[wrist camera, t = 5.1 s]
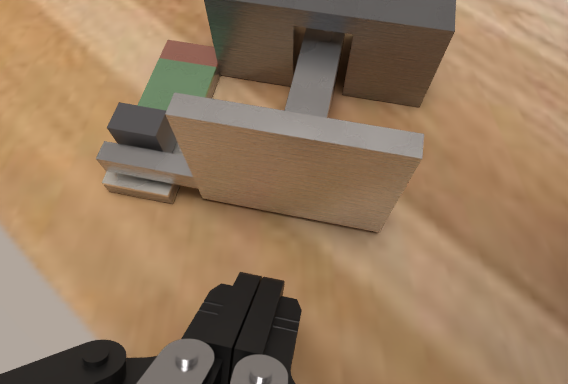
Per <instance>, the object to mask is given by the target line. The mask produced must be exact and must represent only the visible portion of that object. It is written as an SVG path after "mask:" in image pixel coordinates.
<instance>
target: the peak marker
mask: <svg viewBox="0 0 568 384" xmlns="http://www.w3.org/2000/svg"><path fill="white" fill-rule="evenodd" d="M165 113H166V110H160V109H154V108H149V107H143V106H137V105H131V104H125V103H120V102H119V104H118V106H117V108H116V110H115V112H114V114H113V116H112V118H111V120H110V122H109V124H108V126H107V129H108V130H109V132H110V133H111V134H112V136H113V137H114V139H115V140H116V142H117V143H118V144H122V145H128V146H133V147H139V148H144V149H150V150H155V151H161V152H166V153H172V152H173V150H174V147H175V145H176V142H177V140H176V137H175V135H174V133H173V131H172V128H171V126H170V124H169V122H168V119H167V117H166V115H165Z"/></svg>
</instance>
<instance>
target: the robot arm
mask: <svg viewBox="0 0 568 384" xmlns="http://www.w3.org/2000/svg"><path fill="white" fill-rule="evenodd" d="M284 282H285V281H282V280H277V279H273V278H268V277H263V278H262V276H258V275H253V274H248V273H243V272H240V273H239V275H238V277H237V279H236V281H235V283H234V285H233V286H231V285H226V284H220V285H218V286H217V287H215V288H214V289H212V290H211V291H210V292H209V294H208V295H207V297H206V299H205V300H204V303H203V304H202V305H201V307H200V309H199V311H198V312H197V314H196V315H195V317H194V319H193V320H192V322H191V324H190V325H189V327H188V329H187V330H186V332H185V334H184V335H183V337H182V339H180V340H177V341H174V342H172V343H170V344H168V345H167V346H166V347H164V349H163V350H162V351H161V352H160V353H159V355H158V356H154V357H146V358H126V351H125V349H124V348H123V346H122V345H120V344H119V343H117V342H114V341H111V340H95V341H91V342H87V343H84V344H82V345H79V346H76V347H73V348H71V349H68V350H65V351H62V352H59V353H57V354H54V355H51V356H49V357H46V358H43V359H40V360H38V361H35V362H32V363H30V364H27V365H24V366H21V367H19V368H16V369H13V370H11V371H8V372H5V373H2V374H0V384H295V382H294V381H293V379H292V376H291V365H292V359H293V354H294V349H295V343H296V338H297V332H298V327H299V321H300V316H301V308H300V305H299V303H298V301H297V299H293V298H288V297H283V290H284Z"/></svg>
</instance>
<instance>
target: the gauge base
mask: <svg viewBox="0 0 568 384" xmlns="http://www.w3.org/2000/svg"><path fill="white" fill-rule="evenodd" d="M204 2H205V7H206V12H207V16H208V21H209V26H210V30H211V35H212V39H213V44H214V47H211V46H204V45H198V44H191V43H185V42H178V41H172V40H168V41H167V43H166V45H165V47H164V49H163V51H162V54H161V56H160V58H159V60H158V62H157V64H156V66H155V69H154V71H153V73H152V75H151V77H150V79H149V82H148V84H147V86H146V88H145V90H144V92H143V95H142V97H141V99H140V101H139V103H138V105H137V106H143V107H149V108H154V109H160V110H166V111H167V109H168V106H169V104H170V102H171V99H172V97H173V94H174V92H175V93H181V94H187V95H193V96H199V97H205V98H211V99H212V96H213V94H214V91H215V88H216V85H217V83H218V80H219V77H220V75H222V76H228V77H235V78H241V79H247V80H253V81H260V82H266V83H272V84H278V85H284V86H291V85H292V81H293V77H294V73H295V69H296V65H297V62H298V58H299V54H300V50H301V46H302V43H303V39H304V35H305V31H306V28H312V29H319V30H326V31H333V32H340V33H346V34H353V40H352V45H351V51H350V56H349V62H348V67H347V72H346V78H345V83H344V89H343V94H342V95H347V96H353V97H359V98H365V99H372V100H378V101H384V102H390V103H397V104H403V105H409V106H415V107H420V105H421V103H422V101H423V98H424V96H425V94H426V92H427V90H428V88H429V86H430V83H431V81H432V79H433V77H434V75H435V73H436V70H437V68H438V66H439V64H440V62H441V60H442V58H443V55H444V53H445V51H446V49H447V47H448V45H449V43H450V40H451V38H452V36H453V34H454V32H455V10H456V0H204ZM172 154H177V155H183V153H182V151H181V149H180V146H179V144H178V142H176V145H175V147H174V150H173V152H172ZM183 156H184V155H183ZM102 184H103V185H104V186H105V187H106V188H107V189H108V190H109V191H110V192H114V193H119V194H125V195H130V196H135V197H140V198H145V199H150V200H155V201H160V202H165V203H170V204H173V203H174V200H175V197H176V195H177V192H178V189H179V186H180V185H176V184H171V183H166V182H161V181H155V180H150V179H145V178H140V177H135V176H129V175H124V174H119V173H114V172H108V171H107V172H106V175H105V177H104V179H103V181H102Z"/></svg>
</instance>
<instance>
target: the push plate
mask: <svg viewBox="0 0 568 384" xmlns="http://www.w3.org/2000/svg"><path fill="white" fill-rule="evenodd" d="M344 36H345V33H340V32H333V31H326V30H319V29H312V28H306V31H305V35H304V39H303V43H302V46H301V50H300V54H299V58H298V62H297V65H296V69H295V73H294V77H293V81H292V85H291V88H290V92H289V96H288V100H287V104H286V107H285V111H283V110H277V109H271V108H265V107H259V106H253V105H247V104H241V103H235V102H229V101H223V100H217V99H211V98H205V97H199V96H193V95H187V94H181V93H175V92H174V94H173V97H172V99H171V102H170V104H169V106H168V109H167V111H166V113H165V115H166V117H167V119H168V122H169V124H170V126H171V128H172V131H173V133H174V135H175V137H176V140H177V142H178V144H179V146H180V149H181V151H182V153H183V155H184V156H183V155H177V154H172V153H166V152H161V151H155V150H150V149H144V148H139V147H133V146H128V145H122V144H117V143H112V142H106V141H104V143H103V145H102V147H101V149H100V151H99V153H98V155H97V157H96V160H97V161H98V162H99V163H100V164H101V166H102V167H103V168H104V169H105V170H106V171H108V172H114V173H119V174H124V175H129V176H135V177H140V178H145V179H150V180H155V181H161V182H166V183H171V184H176V185H182V186H187V187H192V188H197V189H199V191H200V193H201V196H202V198H204V199H209V200H214V201H219V202H224V203H230V204H235V205H240V206H245V207H250V208H255V209H261V210H266V211H271V212H276V213H281V214H287V215H292V216H297V217H302V218H307V219H313V220H318V221H323V222H328V223H333V224H338V225H344V226H349V227H354V228H359V229H364V230H370V231H375V232H380V230H381V229H382V227H383V225H384V223H385V222H386V220H387V218H388V217H389V215H390V213H391V211H392V210H393V208H394V206H395V204H396V203H397V201H398V199H399V198H400V196H401V194H402V192H403V191H404V189H405V187H406V186H407V184H408V182H409V180H410V179H411V177H412V175H413V174H414V172H415V170H416V168H417V167H418V165H419V163H420V162H421V160H422V154H423V140H424V134H421V133H415V132H409V131H403V130H397V129H391V128H385V127H379V126H373V125H367V124H361V123H355V122H349V121H343V120H337V119H331V118H328V116H329V111H330V106H331V102H332V97H333V92H334V87H335V82H336V77H337V72H338V67H339V62H340V57H341V52H342V47H343V42H344Z"/></svg>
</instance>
